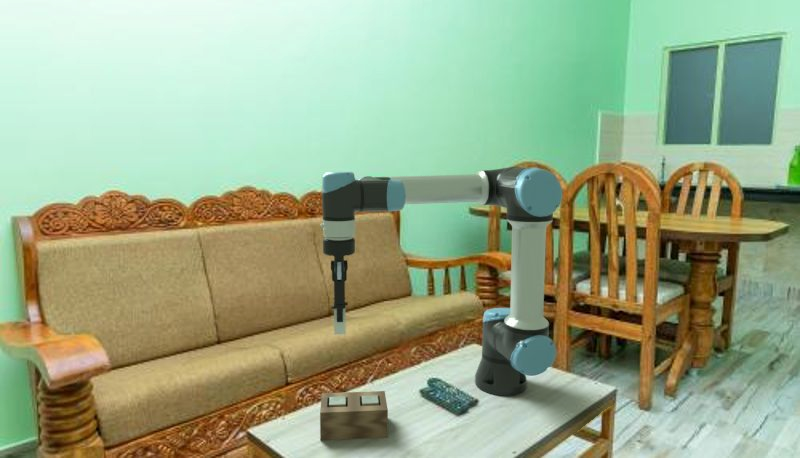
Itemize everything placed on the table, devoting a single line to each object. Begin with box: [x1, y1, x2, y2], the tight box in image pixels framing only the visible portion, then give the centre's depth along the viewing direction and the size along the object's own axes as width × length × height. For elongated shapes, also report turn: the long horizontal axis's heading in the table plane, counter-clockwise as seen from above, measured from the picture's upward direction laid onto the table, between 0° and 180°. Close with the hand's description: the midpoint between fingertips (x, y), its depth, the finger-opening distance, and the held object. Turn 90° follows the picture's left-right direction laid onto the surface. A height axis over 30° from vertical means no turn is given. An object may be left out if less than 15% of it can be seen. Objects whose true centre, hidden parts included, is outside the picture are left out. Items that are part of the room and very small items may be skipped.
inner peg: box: [362, 395, 379, 406], centre depth 129 cm, size 4×4×6 cm
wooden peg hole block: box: [319, 390, 389, 441], centre depth 129 cm, size 16×10×7 cm, turn 96°
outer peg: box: [329, 396, 346, 407], centre depth 128 cm, size 4×4×6 cm
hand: (339, 333), depth 126 cm, fingers closed
